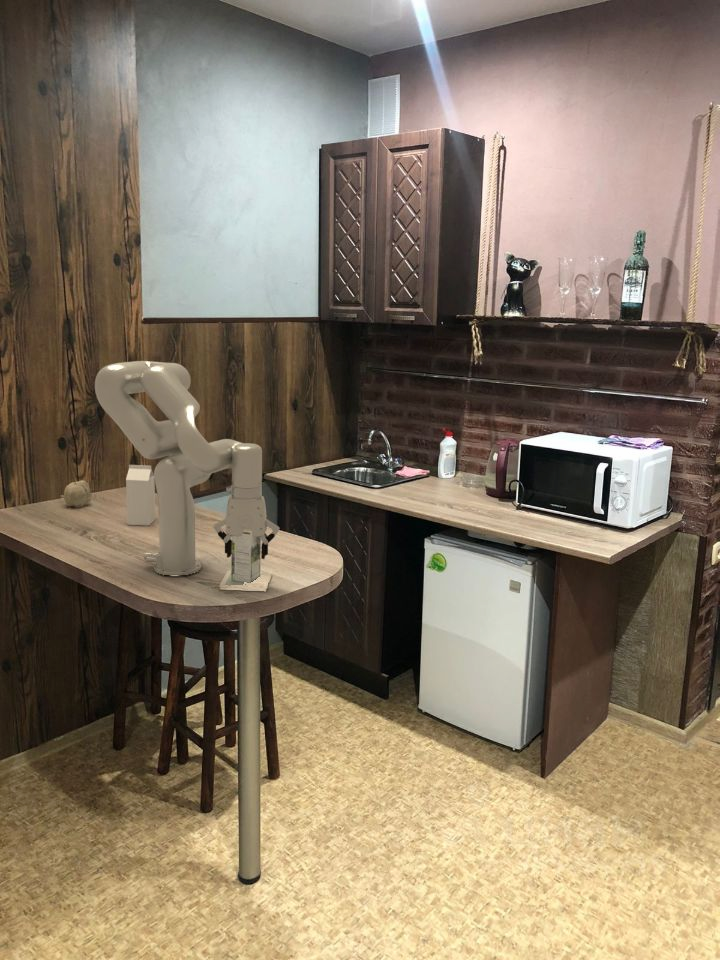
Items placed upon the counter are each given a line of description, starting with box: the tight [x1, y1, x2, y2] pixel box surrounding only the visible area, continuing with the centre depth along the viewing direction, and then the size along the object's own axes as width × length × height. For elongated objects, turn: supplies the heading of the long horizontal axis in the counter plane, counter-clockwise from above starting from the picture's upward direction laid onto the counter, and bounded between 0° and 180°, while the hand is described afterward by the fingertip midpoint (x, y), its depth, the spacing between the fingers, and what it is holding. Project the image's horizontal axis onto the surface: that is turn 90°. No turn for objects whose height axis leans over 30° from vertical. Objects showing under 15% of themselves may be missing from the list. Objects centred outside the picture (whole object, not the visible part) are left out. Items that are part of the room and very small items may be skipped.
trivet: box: [218, 570, 265, 588], centre depth 208 cm, size 12×12×1 cm
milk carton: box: [125, 464, 156, 526], centre depth 255 cm, size 7×7×19 cm
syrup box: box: [230, 529, 262, 583], centre depth 207 cm, size 6×6×14 cm
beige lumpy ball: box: [60, 480, 92, 508], centre depth 272 cm, size 9×8×10 cm
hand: (246, 556), depth 207 cm, fingers open, 8 cm apart
